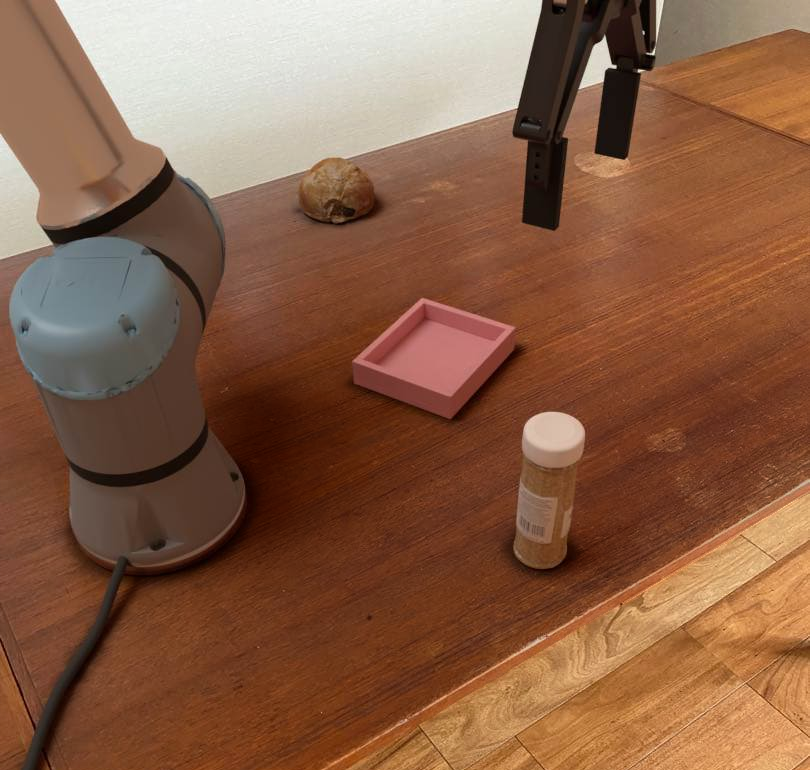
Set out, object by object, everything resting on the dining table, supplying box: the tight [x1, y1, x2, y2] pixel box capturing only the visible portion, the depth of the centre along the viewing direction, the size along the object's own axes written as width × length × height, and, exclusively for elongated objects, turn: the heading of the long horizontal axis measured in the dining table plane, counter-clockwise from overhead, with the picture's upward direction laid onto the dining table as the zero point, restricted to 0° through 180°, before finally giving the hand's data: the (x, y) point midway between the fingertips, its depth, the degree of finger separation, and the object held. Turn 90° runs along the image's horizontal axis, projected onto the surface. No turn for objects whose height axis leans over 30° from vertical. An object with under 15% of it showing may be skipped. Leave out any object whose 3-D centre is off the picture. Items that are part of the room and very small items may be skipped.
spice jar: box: [512, 411, 586, 570], centre depth 68 cm, size 5×5×14 cm
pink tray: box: [351, 297, 517, 420], centre depth 90 cm, size 14×12×3 cm
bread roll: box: [297, 157, 376, 225], centre depth 114 cm, size 10×10×8 cm
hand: (577, 188), depth 69 cm, fingers open, 13 cm apart
